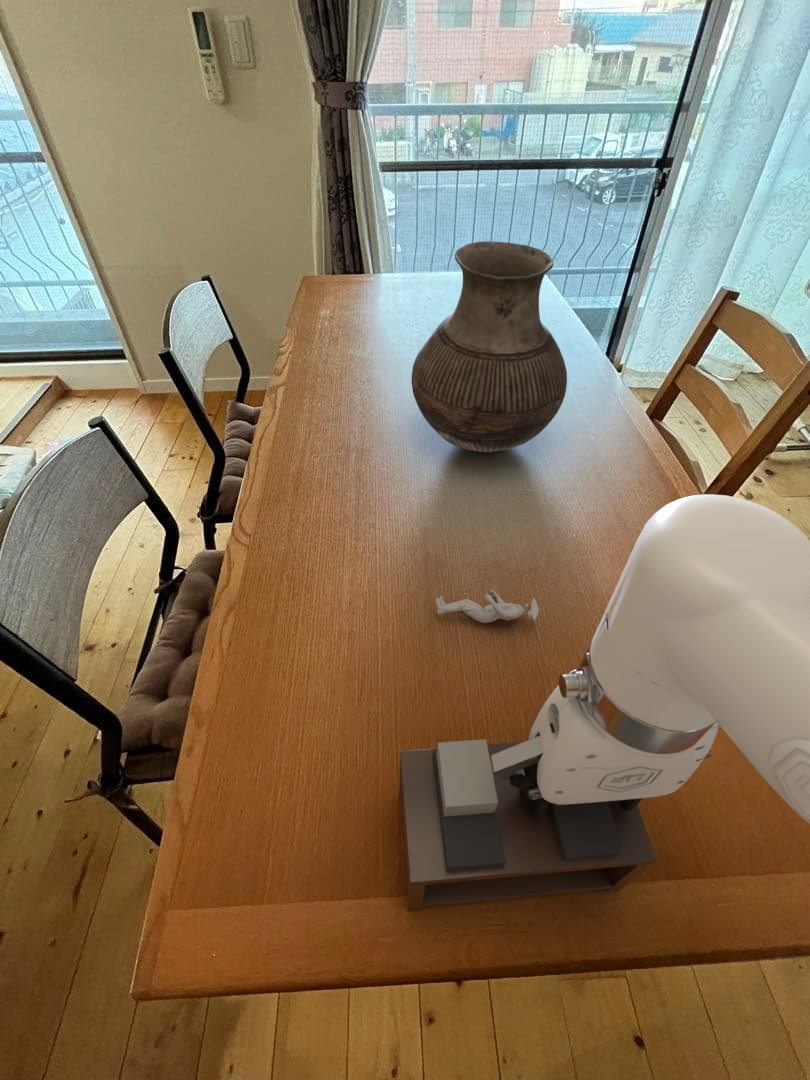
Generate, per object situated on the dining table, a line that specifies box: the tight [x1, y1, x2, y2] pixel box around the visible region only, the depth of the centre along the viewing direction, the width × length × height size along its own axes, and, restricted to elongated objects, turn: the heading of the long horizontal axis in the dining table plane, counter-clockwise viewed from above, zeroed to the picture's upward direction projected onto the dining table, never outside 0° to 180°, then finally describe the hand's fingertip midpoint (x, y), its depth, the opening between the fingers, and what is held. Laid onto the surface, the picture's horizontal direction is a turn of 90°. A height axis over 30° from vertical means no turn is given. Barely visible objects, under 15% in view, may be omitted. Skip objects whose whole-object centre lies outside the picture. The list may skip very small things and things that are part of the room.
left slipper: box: [432, 738, 506, 872], centre depth 44 cm, size 9×4×3 cm, turn 5°
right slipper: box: [549, 801, 622, 859], centre depth 44 cm, size 9×4×3 cm, turn 5°
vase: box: [411, 240, 568, 453], centre depth 86 cm, size 25×25×30 cm
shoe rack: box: [398, 741, 658, 912], centre depth 49 cm, size 10×19×10 cm, turn 95°
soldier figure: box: [435, 589, 540, 624], centre depth 69 cm, size 8×5×12 cm
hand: (576, 794), depth 45 cm, fingers open, 6 cm apart
